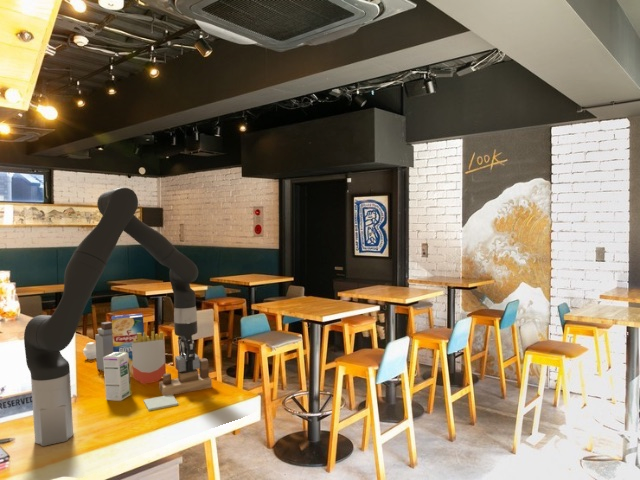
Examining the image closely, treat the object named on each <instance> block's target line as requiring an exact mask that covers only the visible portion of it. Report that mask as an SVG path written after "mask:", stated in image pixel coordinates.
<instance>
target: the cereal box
mask: <svg viewBox="0 0 640 480" xmlns="http://www.w3.org/2000/svg"><path fill="white" fill-rule="evenodd" d="M110 321H111V322H112V335H113V352H128V354H129V369H130V378H132V377H133V378H134V376H133V356H132V343H134V342H133V340H134V339H135V340H136V341H137V333H141V336H143V333H145V328H144V315H143V313H142V312H140V313H131V314H119V315H112V316H111V319H110Z"/></svg>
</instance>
